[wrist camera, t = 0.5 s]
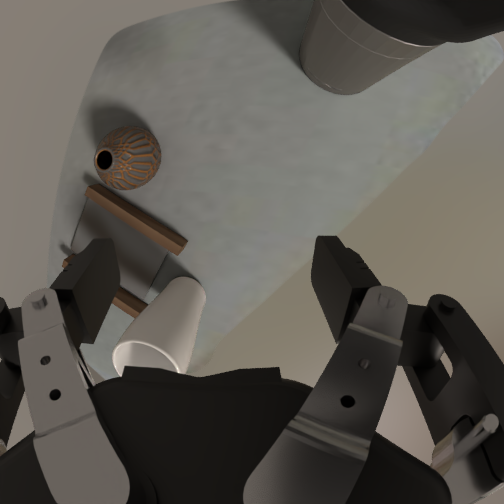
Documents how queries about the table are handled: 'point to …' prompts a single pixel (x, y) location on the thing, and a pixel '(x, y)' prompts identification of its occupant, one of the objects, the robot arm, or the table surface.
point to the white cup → (163, 329)
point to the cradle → (126, 243)
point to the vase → (127, 158)
